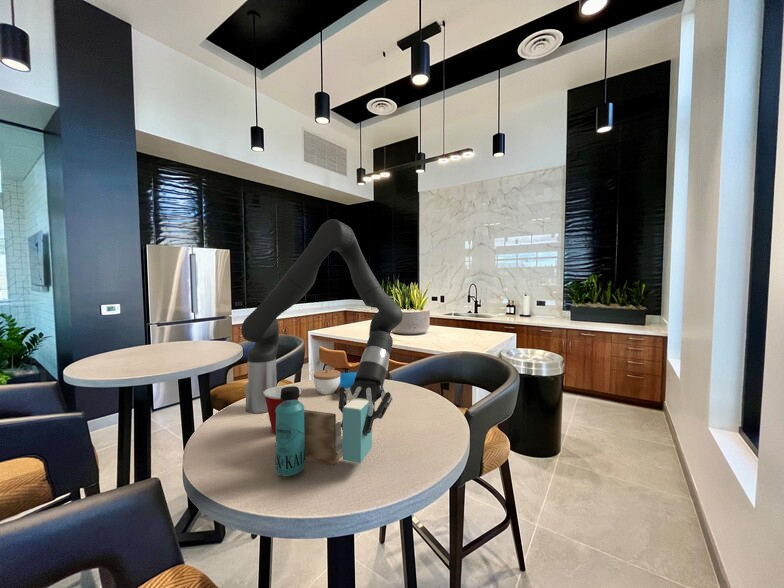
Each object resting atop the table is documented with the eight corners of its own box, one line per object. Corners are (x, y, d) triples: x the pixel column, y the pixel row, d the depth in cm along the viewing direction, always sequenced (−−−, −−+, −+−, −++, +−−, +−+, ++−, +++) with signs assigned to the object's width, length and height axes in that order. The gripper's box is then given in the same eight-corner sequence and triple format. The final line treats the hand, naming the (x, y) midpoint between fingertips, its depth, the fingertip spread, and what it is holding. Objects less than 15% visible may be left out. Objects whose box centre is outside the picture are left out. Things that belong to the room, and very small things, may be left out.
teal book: (342, 459, 73) (342, 407, 72) (354, 444, 79) (355, 396, 79) (360, 463, 71) (360, 409, 71) (371, 447, 78) (371, 398, 78)
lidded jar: (346, 389, 131) (345, 367, 131) (330, 398, 121) (330, 373, 121) (324, 386, 135) (324, 364, 135) (308, 394, 126) (307, 371, 125)
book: (340, 391, 118) (339, 372, 143) (340, 402, 119) (339, 381, 143) (385, 388, 122) (376, 370, 146) (385, 399, 122) (377, 379, 146)
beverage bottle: (279, 467, 75) (278, 383, 75) (308, 465, 76) (307, 382, 75) (271, 484, 69) (270, 393, 68) (303, 482, 69) (301, 392, 69)
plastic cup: (304, 434, 92) (303, 393, 91) (263, 441, 88) (262, 398, 87) (300, 420, 102) (299, 382, 101) (264, 425, 98) (263, 387, 98)
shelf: (277, 455, 81) (276, 408, 80) (304, 433, 92) (303, 393, 92) (334, 465, 76) (333, 415, 76) (354, 441, 87) (354, 398, 87)
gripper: (344, 357, 84) (321, 422, 73) (396, 362, 80) (379, 431, 69) (352, 372, 89) (332, 434, 78) (401, 377, 85) (387, 443, 74)
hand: (354, 432), depth 73 cm, fingers closed on teal book, 4 cm apart
